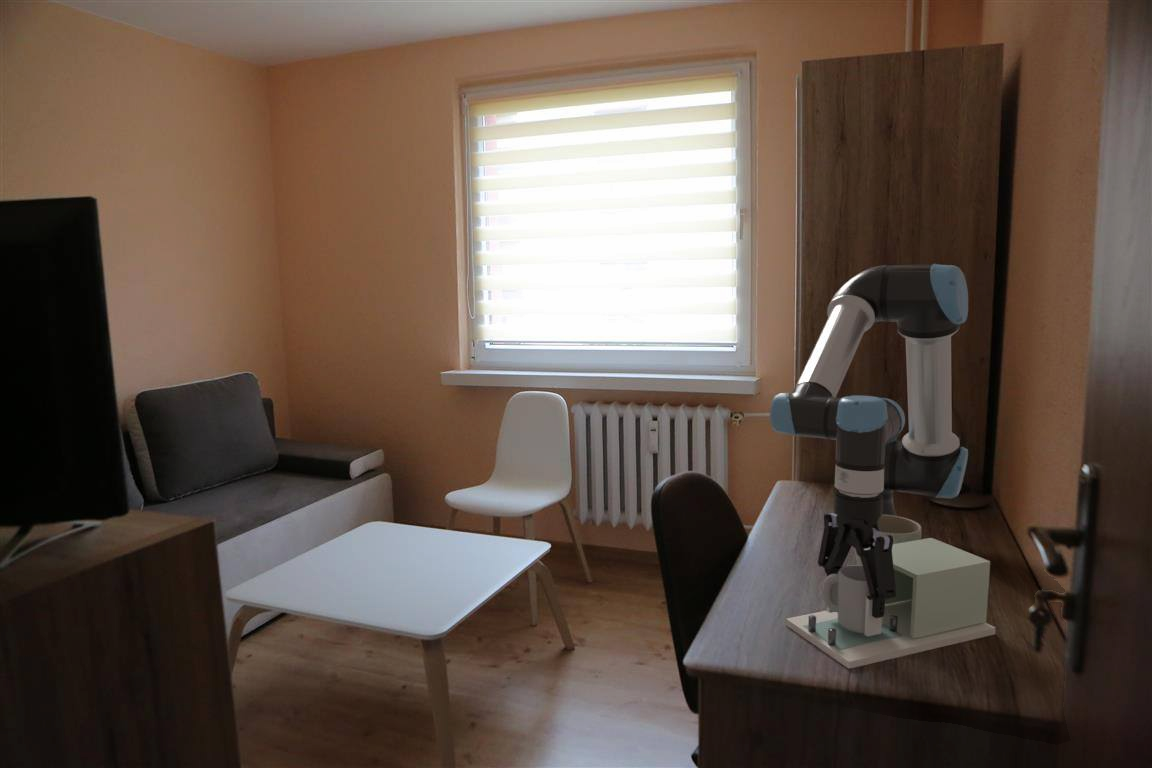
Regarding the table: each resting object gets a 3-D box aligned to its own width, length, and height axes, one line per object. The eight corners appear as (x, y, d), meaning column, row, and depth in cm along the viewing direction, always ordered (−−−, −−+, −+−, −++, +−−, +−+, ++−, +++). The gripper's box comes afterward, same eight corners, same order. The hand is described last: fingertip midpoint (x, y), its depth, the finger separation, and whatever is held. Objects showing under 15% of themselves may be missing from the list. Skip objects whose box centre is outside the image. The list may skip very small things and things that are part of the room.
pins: (872, 616, 132) (872, 602, 132) (898, 631, 127) (899, 617, 126) (806, 630, 128) (807, 616, 127) (831, 646, 122) (831, 632, 122)
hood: (928, 593, 141) (931, 537, 139) (986, 621, 129) (990, 561, 128) (859, 607, 135) (862, 549, 134) (913, 638, 124) (917, 575, 122)
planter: (842, 565, 159) (844, 515, 158) (899, 562, 160) (902, 513, 159) (869, 589, 147) (871, 535, 145) (930, 586, 148) (934, 532, 146)
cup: (878, 638, 122) (880, 585, 121) (815, 623, 127) (816, 572, 126) (887, 620, 128) (889, 570, 127) (827, 607, 133) (828, 558, 132)
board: (921, 597, 143) (921, 590, 143) (995, 634, 128) (995, 627, 128) (785, 625, 132) (785, 618, 132) (848, 668, 117) (849, 661, 117)
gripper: (798, 477, 132) (794, 600, 136) (888, 512, 113) (881, 655, 116) (833, 473, 135) (829, 593, 138) (927, 506, 115) (919, 646, 118)
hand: (852, 621), depth 127 cm, fingers closed on cup, 8 cm apart
